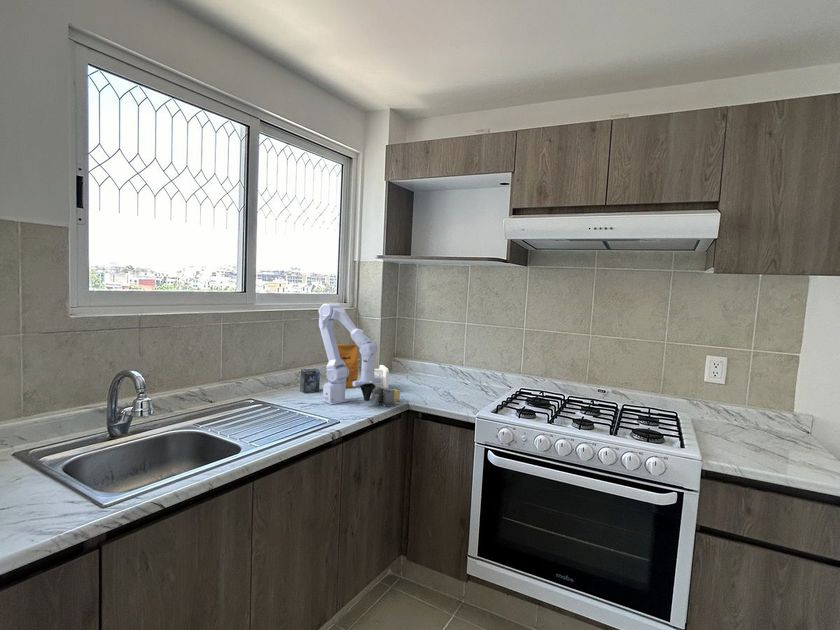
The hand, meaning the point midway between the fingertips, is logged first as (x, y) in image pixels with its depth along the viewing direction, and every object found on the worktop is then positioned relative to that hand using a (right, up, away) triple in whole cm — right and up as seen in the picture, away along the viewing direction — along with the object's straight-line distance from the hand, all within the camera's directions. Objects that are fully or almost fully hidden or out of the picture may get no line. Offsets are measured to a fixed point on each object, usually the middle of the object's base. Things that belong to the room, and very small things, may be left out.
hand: (366, 400), depth 195 cm
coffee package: (-16, 0, +35) cm, 38 cm away
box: (-30, 0, +21) cm, 37 cm away
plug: (+8, -2, +8) cm, 11 cm away
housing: (+7, -2, +7) cm, 10 cm away
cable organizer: (0, -1, +31) cm, 31 cm away
